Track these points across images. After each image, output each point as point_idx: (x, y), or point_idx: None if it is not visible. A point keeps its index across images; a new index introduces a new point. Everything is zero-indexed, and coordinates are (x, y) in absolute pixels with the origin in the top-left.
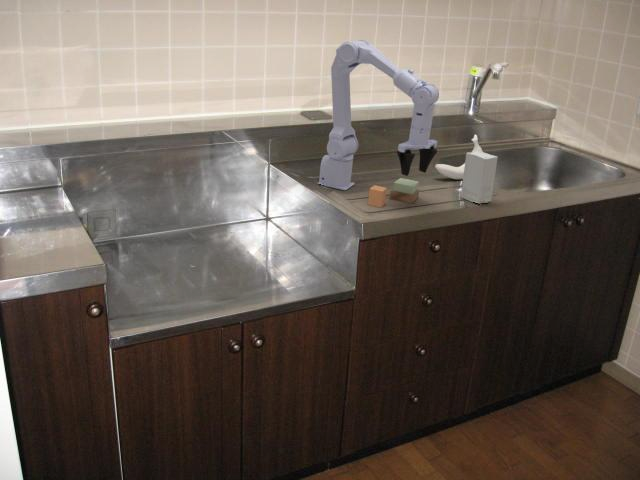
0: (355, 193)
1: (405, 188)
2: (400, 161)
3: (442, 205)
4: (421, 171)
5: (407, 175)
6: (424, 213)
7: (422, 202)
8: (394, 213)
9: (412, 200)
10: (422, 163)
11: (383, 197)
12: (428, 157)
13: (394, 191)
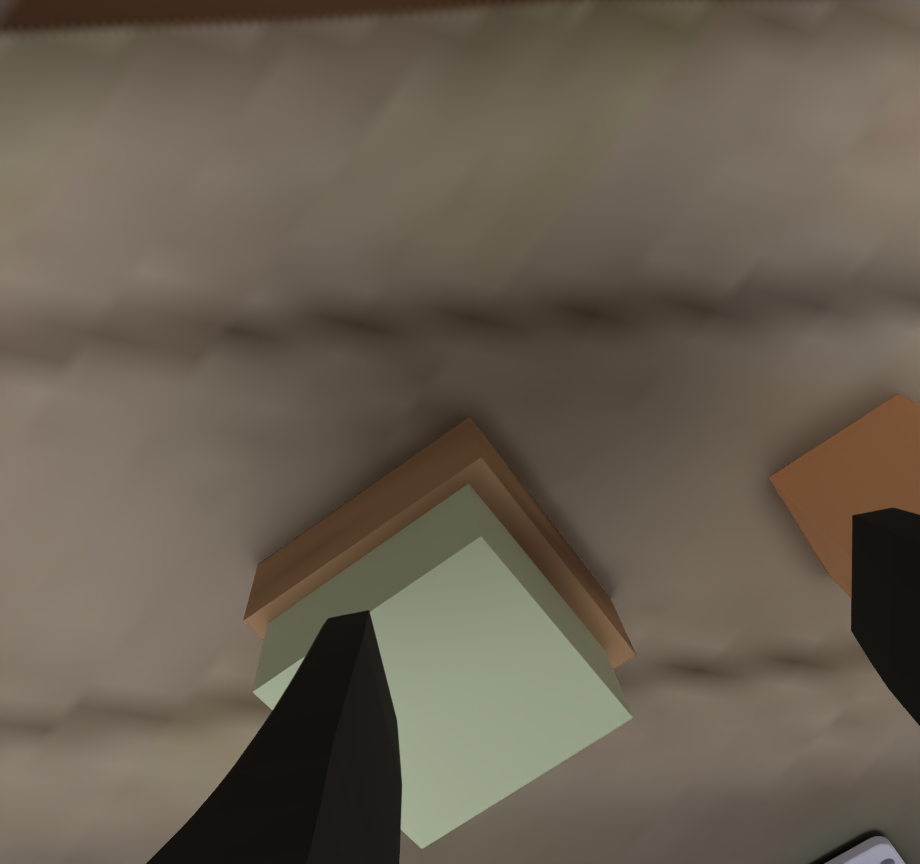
0: (831, 769)
1: (534, 583)
2: None
3: (93, 262)
4: (385, 676)
5: (871, 512)
6: (533, 69)
7: (305, 418)
8: (894, 186)
9: (447, 445)
10: (379, 818)
11: (903, 468)
12: None
13: (611, 620)
